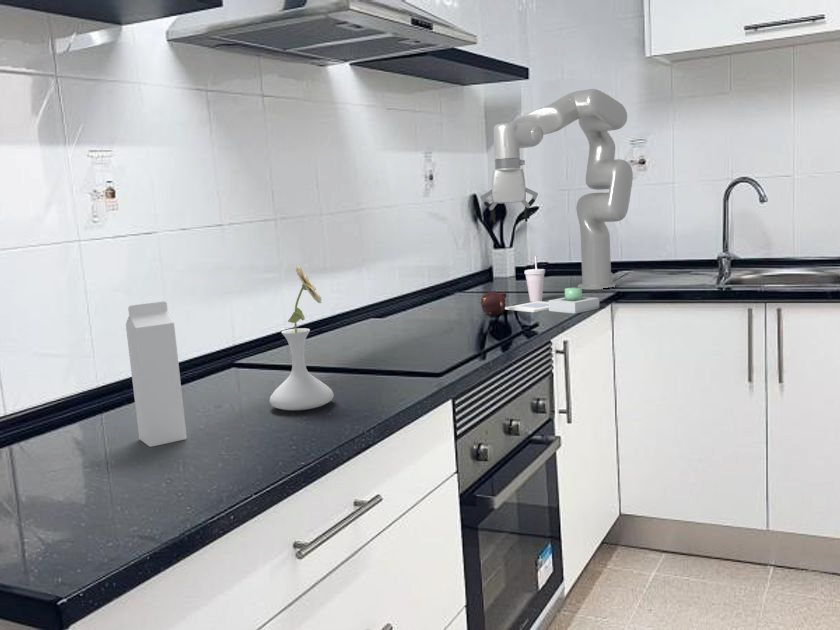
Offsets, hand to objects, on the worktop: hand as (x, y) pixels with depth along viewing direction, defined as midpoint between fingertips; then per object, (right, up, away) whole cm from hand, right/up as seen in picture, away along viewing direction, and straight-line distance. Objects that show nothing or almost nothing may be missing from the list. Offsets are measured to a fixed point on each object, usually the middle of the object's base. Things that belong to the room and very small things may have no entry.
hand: (510, 222), depth 257 cm
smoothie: (+9, -24, +7) cm, 26 cm away
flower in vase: (-48, -45, -106) cm, 124 cm away
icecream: (-6, -28, -15) cm, 33 cm away
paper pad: (+7, -26, -7) cm, 28 cm away
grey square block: (+16, -27, -16) cm, 35 cm away
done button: (+16, -24, -16) cm, 33 cm away
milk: (-69, -48, -121) cm, 147 cm away
